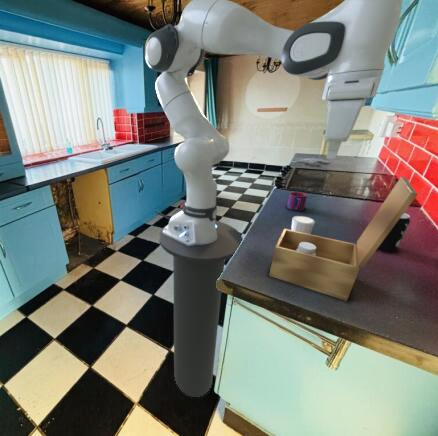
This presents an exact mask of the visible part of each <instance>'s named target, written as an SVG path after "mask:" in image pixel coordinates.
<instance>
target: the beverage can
mask: <svg viewBox="0 0 438 436" xmlns="http://www.w3.org/2000/svg"><path fill="white" fill-rule="evenodd" d="M410 218H411V215H409V214H408V213H405V212H404V213H403V215H402V216H401V218H400V219H399V220H398V222H397V223H396V224H395V226H394V227H393V228H392V230H391V231H390V232H389V234H388V235H387V236H386V238H385V239H384V240H383V242H382V243H381V244H380V246H379V247H378V248H377V250H379V251H382V252H387V253H388V252H389V253H391V252H394V251H397V250H398V249H399V246H400V244H401V243H402V240H403V238H404V236H405V234H406V232H407V229H408V228H409V224H410V223H411V219H410Z"/></svg>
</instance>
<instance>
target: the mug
mask: <svg viewBox="0 0 438 436" xmlns="http://www.w3.org/2000/svg"><path fill="white" fill-rule="evenodd" d="M307 199H308V194H307V193H305V192H301V191H291V192H290V193H289V196H288V199H287V200H288V201H287V204H286V205H287V206H286V208H287V209H288V210H291V211H296V212H301V211H304V210H305V206H306V202H307Z"/></svg>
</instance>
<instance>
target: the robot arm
mask: <svg viewBox="0 0 438 436" xmlns="http://www.w3.org/2000/svg"><path fill="white" fill-rule="evenodd" d="M403 2H404V0H343V1H342V2H341V3H340V4H339V5H337V6H336V7H334V8H333V9H331V10H330V11H328V12H327V13H325V14H323V15H322V16H320V17H318V18H316V19H314V20H312V21H310V22H308V23H305V24H302V25H301V26H299V27H298V28H296V29H295V30H290V29H287V28H283V27H279V26H276V25H273V24H271V23H269V22H268V21H266V20H264V19H263V18H261V17H260V16H258V15H257V14H255V13H254V12H253V11H251V10H249V9H248V8H246V7H244V6H243V5H240V4H239V3H236V2H234V1H232V0H191V1H189V2H188V4H186V5H185V7H184V9H183V10H182V13H181V16H180V20H179V22H178V24H177V25H173V24H172V23H168V24H166V25H165V26H163V27H161V28H159V29H157V30H155V31H154V32H152V33H151V34H150V35H149V36H148V38H147V40H146V42H145V46H144V58H145V62H146V64H147V66H148V67H149V68H150V69H151V70H153V71H155V72H158V73H161V74H160V75H159V76H158V77H157V78H156V80H155V92H156V94H157V98H158V100H159V103H160V105H161V108H162V110H163V112H164V113H165V116H166V118H167V119H168V121H169V124H170V125H171V126H170V127H172V130H173V131H174V132H175V133H177V134H178V135H180V136H181V137H182V138H183V139H184V141H183V142H181V143H180V144H179V145H178V146H177V147H176V148H175V150H174V163H175V165H176V167H177V169H179V170H180V171H181V172H182V174H183V177H184V180H185V186H186V200H185V201H184V202H182V204H181V205H180V209H181V210H180V211H178V212H174V213H173V215H172V216H171V217H169V216H167V215H165V214H164V213H161V212H160V211H158V210H155V213H156V214H158V215H159V216H160V217H161V216H162V217H163V218H165V219H167V220H168V224H167V225H165V226H166V227H165V226H164V227H165V228H164V227H163V228H164V229H163V228H162V229H163V234H164V235H166V236H168V237H170V238H172V239H175V240H177V241H179V242H181V243H183V244H185V245H188V246H194V245H203V244H209V243H212V242H214V241H216V240H217V238H218V236H217V232H216V228H217V226H216V224H215V221H216V218H217V214H218V210H217V209H218V204H217V194H218V184H217V182H216V181H215V180H214V177H213V166H214V165H217V164H220V163H221V162H222V161H223V160H224V159H225V158H227V156H228V154H229V152H230V142H229V140H228V138H226V137H225V136H224V135H222V134H221V133H220V132H219V131H218V130H217V128H215V126H214V125H213V124H212V123H211V122H210V121H209V119H208V118H207V117H206V115H205V114H204V112H203V110H202V109H201V107H200V105H199V103H198V101H197V99H196V97H195V95H194V93H193V92H192V90H191V88H190V86H189V83H188V79H187V77H191V76H193V75H194V74H195V71H196V70H197V68H199V66H200V65H201V64H202V62H203V60H204V58H205V55H206V52H208V53H209V52H210V53H213V54H220V55H238V56H239V55H250V56H252V55H253V56H263V57H267V58H271V59H274V60H278V61H280V62H281V66H282V68H283V70H284V71H285V72H286V73H288V74H289V75H292V76H294V77H299V78H305V79H306V78H307V79H309V80H312V81H321V80H324V79H325V84H324V88H323V93H322V96H321V100H322V101H326V102H327V105H326V109H327V116H326V123H325V129H324V140H325V142H328V147H327V153H326V157H325V158H326V159H327V160H335V159H336V158H337V157H338V153H339V149H340V147H341V145H342V143H346V142H348V140H349V138H350V136H351V134H352V132H353V130H354V128H355V125H356V122H357V120H358V118H359V115H360V113H361V111H362V108H364V107H365V105H366V102H367V99H370V98H375V97H376V96H377V93H378V90H379V88H380V87H379V86H380V83H381V80H382V77H383V74H384V70H385V65H386V64H385V59H386V56H387V53H388V51H389V49H390V48H391V46H392V45H393V42H394V40H395V35H396V32H397V29H398V26H399V21H400V17H401V14H402V9H403Z"/></svg>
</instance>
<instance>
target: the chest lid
mask: <svg viewBox="0 0 438 436" xmlns="http://www.w3.org/2000/svg"><path fill="white" fill-rule="evenodd" d="M418 195H419V194H418V192H417V191H416V189H415V188H414V186H412V184H411V183H410V181H409V180H408V179H407V177H404V176H400V177H399V179H398V180H397V182H396V183H395V185H394V186H393V188H392V190H391V191H390V192H389V194H388V196H387V197H386V198H385V200H384V201H383V203H381V206H380V207H379V208H378V210H377V211H376V213H375V214H374V216H373V217H372V219H371V221H370V222H369V223H368V225H367V226H366V228H365V229H364V231H363V233H361V235H360V236H359V238H358V240H357V241H356V244H357V252H358V266H360V268H364V267H365V266H366V265H367V263H368V262H369V261H370V259H371V258H372V257H373V255H374V254H375V253H376V251H377V250H378V249H377V248H378V247H379V246H380V244H381V243H382V242H383V240H384V239H385V238H386V236H387V235H388V234H389V232H390V231H391V230H392V228H393V227H394V226H395V224H396V223H397V222H398V220H399V219H400V218H401V216H402V215H403V213H405V212H406V211H407V209H409V207H410V206H411V204H412V202H413V201H414V200H415V199H416V198H417V196H418Z"/></svg>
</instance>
